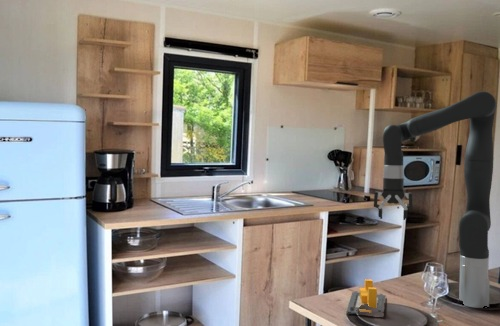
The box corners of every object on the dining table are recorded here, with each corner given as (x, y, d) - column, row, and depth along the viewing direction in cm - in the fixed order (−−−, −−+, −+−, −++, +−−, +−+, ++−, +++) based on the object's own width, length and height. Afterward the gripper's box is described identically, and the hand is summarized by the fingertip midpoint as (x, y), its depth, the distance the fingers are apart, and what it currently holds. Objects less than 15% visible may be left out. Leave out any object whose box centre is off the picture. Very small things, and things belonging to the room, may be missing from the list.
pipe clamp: (359, 296, 171) (359, 278, 171) (371, 297, 170) (372, 279, 170) (363, 307, 159) (363, 288, 159) (376, 308, 158) (376, 289, 158)
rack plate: (385, 297, 173) (385, 292, 173) (384, 318, 152) (384, 312, 152) (352, 294, 177) (352, 289, 177) (346, 314, 156) (346, 308, 156)
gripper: (412, 177, 181) (411, 218, 182) (374, 176, 186) (373, 216, 186) (413, 178, 174) (412, 221, 175) (373, 177, 178) (373, 219, 179)
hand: (392, 219), depth 180 cm, fingers open, 8 cm apart
